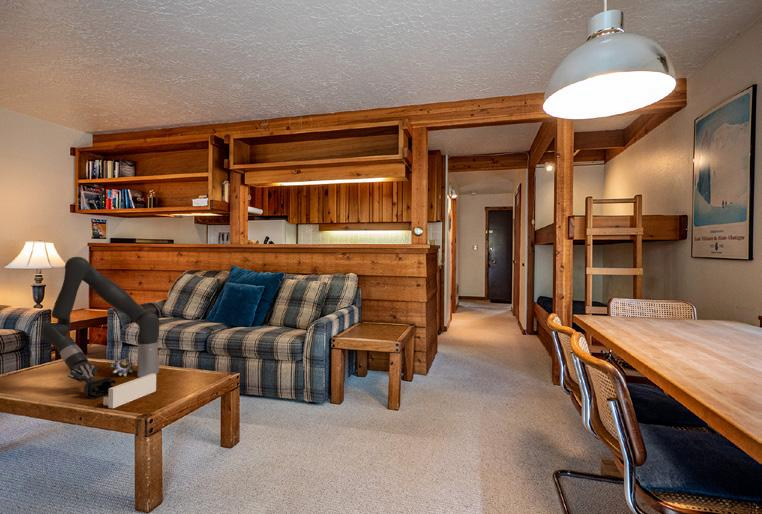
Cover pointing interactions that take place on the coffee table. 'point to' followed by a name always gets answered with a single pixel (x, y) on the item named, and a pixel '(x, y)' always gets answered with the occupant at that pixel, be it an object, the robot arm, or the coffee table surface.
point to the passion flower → (122, 366)
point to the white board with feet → (130, 391)
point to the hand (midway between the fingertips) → (93, 385)
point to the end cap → (98, 388)
